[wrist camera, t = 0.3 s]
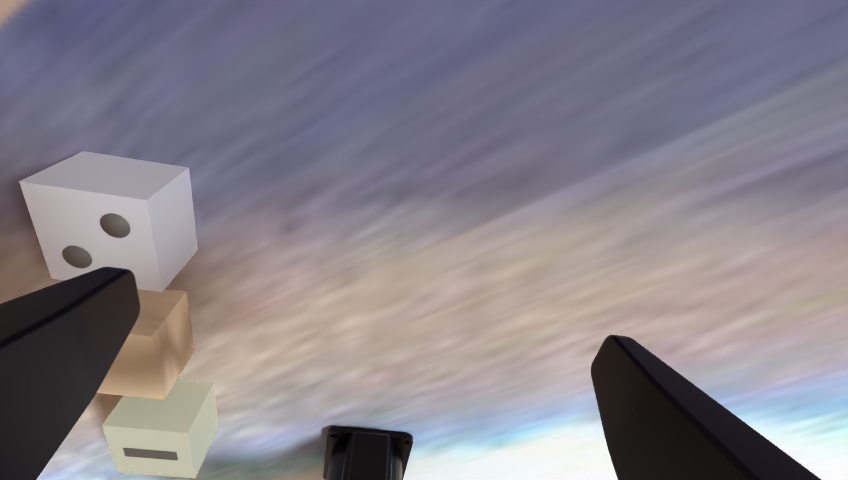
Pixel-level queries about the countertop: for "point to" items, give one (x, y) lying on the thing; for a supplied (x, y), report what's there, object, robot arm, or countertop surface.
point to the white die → (113, 217)
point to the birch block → (153, 347)
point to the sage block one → (163, 431)
